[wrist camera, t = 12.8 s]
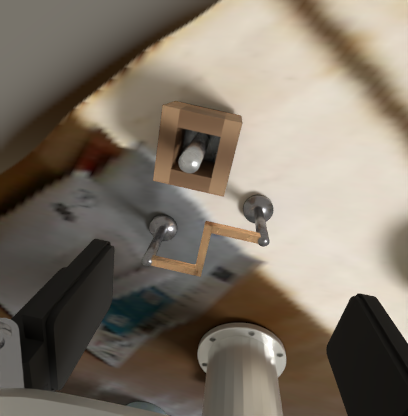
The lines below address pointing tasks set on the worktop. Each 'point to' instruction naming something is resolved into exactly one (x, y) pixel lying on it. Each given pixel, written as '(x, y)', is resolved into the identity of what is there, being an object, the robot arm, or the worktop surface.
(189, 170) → the peg stand
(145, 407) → the light blue cup
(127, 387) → the worktop surface
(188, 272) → the buzz wire
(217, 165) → the open wooden box
